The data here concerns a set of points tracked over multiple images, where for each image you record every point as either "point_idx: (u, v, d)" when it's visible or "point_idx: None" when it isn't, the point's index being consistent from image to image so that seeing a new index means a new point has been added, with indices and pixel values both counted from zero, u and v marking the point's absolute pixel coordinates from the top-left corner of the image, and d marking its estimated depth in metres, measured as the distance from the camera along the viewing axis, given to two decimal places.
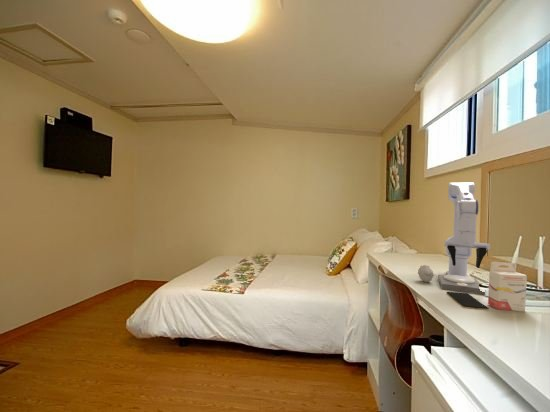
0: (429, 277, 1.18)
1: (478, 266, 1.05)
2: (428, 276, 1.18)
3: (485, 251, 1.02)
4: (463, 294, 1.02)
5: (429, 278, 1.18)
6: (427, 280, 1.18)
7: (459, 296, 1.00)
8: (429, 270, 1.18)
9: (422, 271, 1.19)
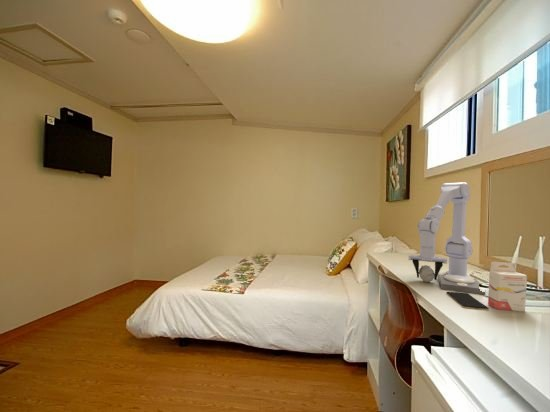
0: (430, 277, 1.18)
1: (435, 278, 1.18)
2: (429, 276, 1.18)
3: (441, 265, 1.15)
4: (463, 294, 1.02)
5: (430, 278, 1.18)
6: (428, 280, 1.18)
7: (459, 296, 1.00)
8: (430, 270, 1.18)
9: (423, 271, 1.19)
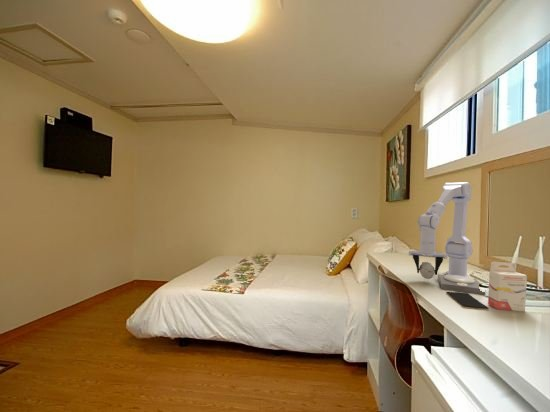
0: (430, 274, 1.18)
1: (436, 273, 1.18)
2: (429, 273, 1.18)
3: (441, 260, 1.15)
4: (463, 294, 1.02)
5: (430, 275, 1.18)
6: (428, 277, 1.18)
7: (459, 296, 1.00)
8: (431, 267, 1.18)
9: (424, 267, 1.19)
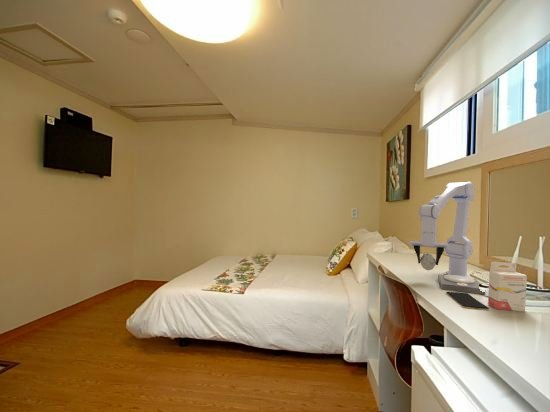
0: (431, 265, 1.17)
1: (437, 263, 1.17)
2: (430, 264, 1.17)
3: (442, 250, 1.15)
4: (463, 294, 1.02)
5: (431, 266, 1.17)
6: (429, 268, 1.18)
7: (459, 296, 1.00)
8: (432, 258, 1.18)
9: (425, 258, 1.19)
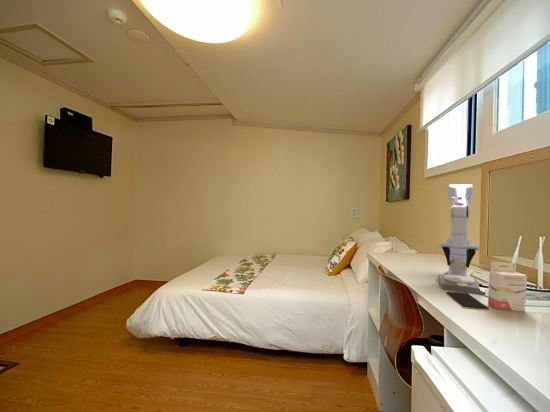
0: (461, 269, 1.14)
1: (468, 266, 1.14)
2: (461, 268, 1.14)
3: (474, 252, 1.12)
4: (463, 294, 1.02)
5: (461, 270, 1.14)
6: (459, 272, 1.15)
7: (459, 296, 1.00)
8: (463, 262, 1.15)
9: (455, 262, 1.15)
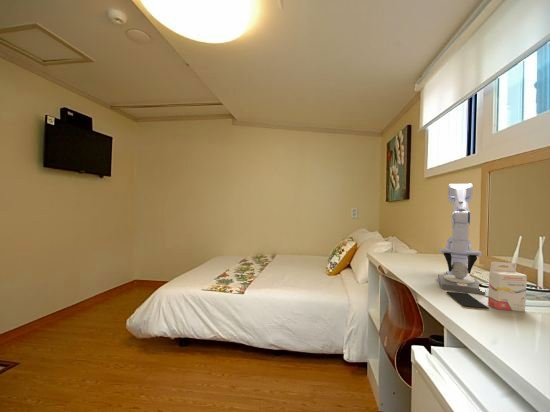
0: (464, 273, 1.14)
1: (469, 272, 1.14)
2: (462, 272, 1.14)
3: (475, 258, 1.12)
4: (463, 294, 1.02)
5: (464, 274, 1.14)
6: (461, 276, 1.14)
7: (459, 296, 1.00)
8: (463, 266, 1.14)
9: (456, 267, 1.15)
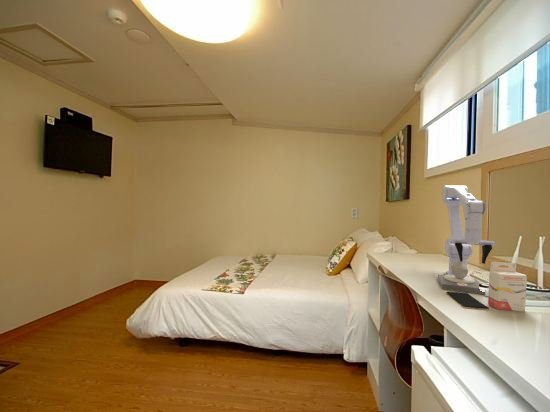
0: (464, 273, 1.14)
1: (484, 262, 1.13)
2: (463, 272, 1.14)
3: (490, 248, 1.10)
4: (463, 294, 1.02)
5: (464, 274, 1.14)
6: (461, 276, 1.14)
7: (459, 296, 1.00)
8: (463, 266, 1.14)
9: (456, 267, 1.15)
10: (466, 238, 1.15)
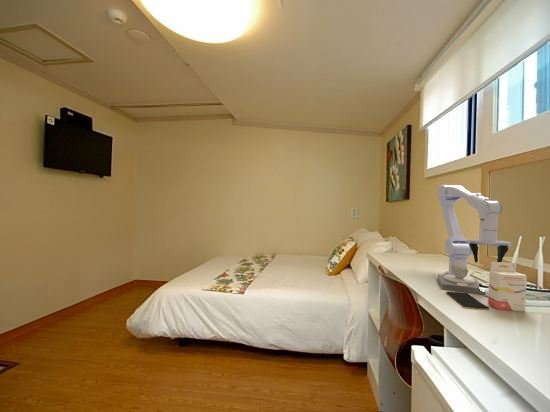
0: (464, 273, 1.14)
1: None
2: (463, 272, 1.14)
3: (506, 249, 1.09)
4: (463, 294, 1.02)
5: (464, 274, 1.14)
6: (461, 276, 1.14)
7: (459, 296, 1.00)
8: (463, 266, 1.14)
9: (456, 267, 1.15)
10: (481, 239, 1.14)
